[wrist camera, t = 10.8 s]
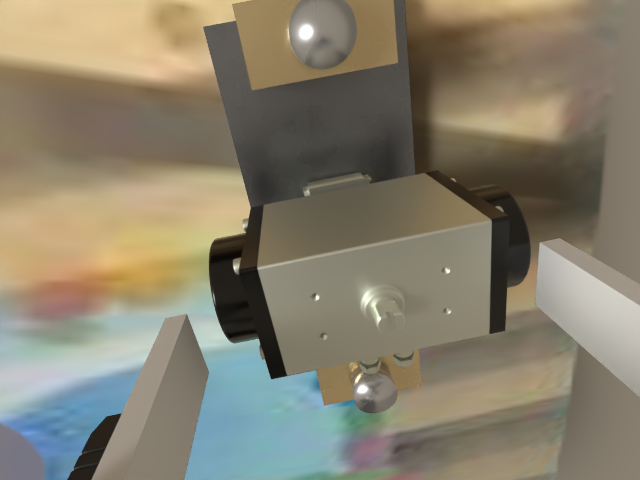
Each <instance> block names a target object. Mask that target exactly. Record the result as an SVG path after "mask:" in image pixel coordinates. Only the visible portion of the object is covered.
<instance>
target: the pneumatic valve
mask: <svg viewBox="0 0 640 480" xmlns="http://www.w3.org/2000/svg"><path fill="white" fill-rule="evenodd" d="M370 182H371V177H370V176H368V174H366V175H362V173H361V172H359V173H354V174H349V175H344V176H339V177H334V178H328V179H323V180H318V181H313V182H308V185H307V186H305V187H303V191H304V196H305V197H301V198H296V199H291V200H286V201H281V202H276V203H270V204H265V205H260V206H255V207H251V210H250V215H249V218H248V219H244V220H243V227H244V230H245V232H246V233H243V234H238V235H233V236H228V237H223V238H217V239H215V240H214V241H213V243H212V245H211V248H210V253H209V277H210V286H211V292H212V297H213V302H214V306H215V311H216V314H217V317H218V320H219V323H220V326H221V328H222V330H223V332H224V334H225V336H226V337H227V339H228V340H229V341H230V342H232V343H240V342H245V341H249V340H254V339H259V341H260V344H261V345H260V355H261V358H262V359H265V360H266V364H267V367H268V370H269V374H270V377H271V379H275V378H280V377H285V376H290V375H295V374H299V373H304V372H309V371H314V370H319V369H324V368H328V367H333V366H338V365H343V364H348V363H353V362H357V361H360V363H359V365H360V368H361V370H362V371H363V372H364V373H367V374H374V373H376V372H378V371H379V369H380V366H381V360H380V358H379V357H382V356H386V355H391V354H394V355H393V360H394V362H395V363H396V364H397V365H398V366H401V367H408V366H410V365H412V364H413V362H414V352H413V350H415V349H420V348H425V347H430V346H435V345H439V344H444V343H449V342H454V341H459V340H464V339H468V338H473V337H478V336H483V335H488V334H493V333H497V332H502V331H505V321H506V298H507V288H508V287H513V286H517V285H518V284H520V283H521V282H522V281H523V280H524V278H525V277H526V275H527V272H528V269H529V265H530V258H531V246H530V238H529V233H528V228H527V225H526V222H525V219H524V216H523V214H522V212H521V209H520V208H519V206H518V204H517V202H516V201H515V199H514V198H513V197H512V195H511V194H510V193H509V192H508V191H507V190H505V189H504V188H503V187H501V186H498V185H495V184H489V185H484V186H479V187H474V188H469V189H466V188H464V187H463V186H461V185H460V184H458V183H456V180H455V179H454V178H448V177H447V176H445V175H444V174H442V173H441V172H439V171H432V172H427V173H422V174H417V175H412V176H407V177H402V178H397V179H392V180H387V181H382V182H377V183H372V184H370Z"/></svg>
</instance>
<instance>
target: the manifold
mask: <svg viewBox="0 0 640 480" xmlns="http://www.w3.org/2000/svg"><path fill="white" fill-rule="evenodd" d="M232 5H233V10H234V14H235V18H236V21H233V22H227V23H222V24H216V25H211V26H205V27H203V28H204V32H205V36H206V39H207V43H208V47H209V51H210V55H211V58H212V62H213V66H214V70H215V74H216V77H217V81H218V85H219V89H220V92H221V96H222V100H223V104H224V108H225V111H226V115H227V119H228V123H229V127H230V130H231V134H232V138H233V142H234V146H235V149H236V153H237V157H238V161H239V165H240V168H241V172H242V176H243V180H244V183H245V187H246V191H247V195H248V199H249V202H250V206H251V207H255V206H260V205H265V204H270V203H276V202H281V201H286V200H291V199H296V198H301V197H305V196H304V191H303V187H305V186H307V185H308V182H313V181H318V180H323V179H328V178H334V177H339V176H344V175H349V174H354V173H359V172H361V173H362V175H366V174H368V176H370V177H371V182H370V184H372V183H377V182H382V181H387V180H392V179H397V178H402V177H407V176H412V175H415V161H414V144H413V128H412V112H411V95H410V79H409V63H408V46H407V30H406V14H405V0H252V1H246V2H241V3H236V4H232ZM413 352H414V362H413V364H412V365H410V366H408V367H401V366H398V365H397V364H396V363H395V362H394V360H393V355H394V354H391V355H386V356H382V357H379V358H380V360H381V366H380V369H379V371H378V372H376V373H374V374H367V373H364V372H363V371H362V370H361V368H360V365H359V363H360V361H357V362H353V363H348V364H343V365H338V366H333V367H328V368H324V369H319V370H316V371H317V376H318V380H319V384H320V389H321V393H322V397H323V402H324V405H329V404H334V403H339V402H344V401H349V400H355V404H356V406H357V407H358V408H359V409H360V410H361V411H363V412H367V413H379V412H382V411H385V410H387V409H388V408H390V407H391V406H392V405H393V404H394V403H395V401H396V399H397V391H398V390H403V389H408V388H412V387H417V386H421V374H420V360H419V349H415V350H413Z"/></svg>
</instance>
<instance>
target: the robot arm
mask: <svg viewBox="0 0 640 480" xmlns="http://www.w3.org/2000/svg"><path fill="white" fill-rule="evenodd" d="M535 305H536V306H537V307H539V308H540V309H541V310H542V311H543V312H544V313H545V314H546V315H548V316H549V317H550V318H551V319H552V320H553V321H554V322H555V323H557V324H558V325H559V326H560V327H561V328H562V329H563V330H564V331H566V332H567V333H568V334H569V335H570V336H571V337H572V338H574V339H575V340H576V341H577V342H578V343H579V344H580V345H581V346H583V347H584V348H585V349H586V350H587V351H588V352H589V353H590V354H592V355H593V356H594V357H595V358H596V359H597V360H598V361H599V362H601V363H602V364H603V365H604V366H605V367H606V368H607V369H609V370H610V371H611V372H612V373H613V374H614V375H615V376H616V377H618V378H619V379H620V380H621V381H622V382H623V383H624V384H625V385H627V386H628V387H629V388H630V389H631V390H632V391H633V392H635V393H636V394H637V395H638V396H639V397H640V284H639V283H637V282H635V281H633V280H632V279H630V278H628V277H626V276H624V275H623V274H621V273H619V272H618V271H616V270H614V269H612V268H611V267H609V266H607V265H605V264H604V263H602V262H600V261H598V260H597V259H595V258H593V257H592V256H590V255H588V254H586V253H585V252H583V251H581V250H579V249H578V248H576V247H574V246H572V245H571V244H569V243H567V242H565V241H564V240H562V239H560V238H559V239H554V240H549V241H544V242H540V246H539V258H538V271H537V284H536V297H535ZM208 374H209V371H208V368H207V366H206V363H205V361H204V358H203V355H202V353H201V350H200V347H199V345H198V342H197V340H196V337H195V334H194V332H193V329H192V327H191V324H190V321H189V319H188V316H187V314H184V315H180V316H175V317H170V318H166V319H165V321H164V323H163V325H162V327H161V329H160V332H159V334H158V336H157V338H156V340H155V342H154V345H153V347H152V349H151V351H150V353H149V356H148V358H147V360H146V362H145V364H144V366H143V369H142V371H141V373H140V375H139V377H138V380H137V382H136V384H135V386H134V388H133V390H132V393H131V395H130V397H129V399H128V401H127V404H126V406H125V408H124V410H123V412H122V413H121V414H117V415H112V416H107V417H106V418H105V419H104V420H103V421H102V422H101V423H100V424H99V426H98V427H97V428H96V429H95V430H94V431H93V432H92V433H91V435H90V437H89V439H88V441H87V443H86V445H85V447H84V449H83V451H82V455H81V456H79V458H78V460H77V462H76V464H75V466H74V471H72V472H71V474H70V476H69V478H68V479H67V480H184V478H185V474H186V470H187V465H188V461H189V457H190V452H191V448H192V443H193V439H194V435H195V430H196V426H197V422H198V417H199V413H200V409H201V404H202V400H203V396H204V391H205V387H206V382H207V378H208Z"/></svg>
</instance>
